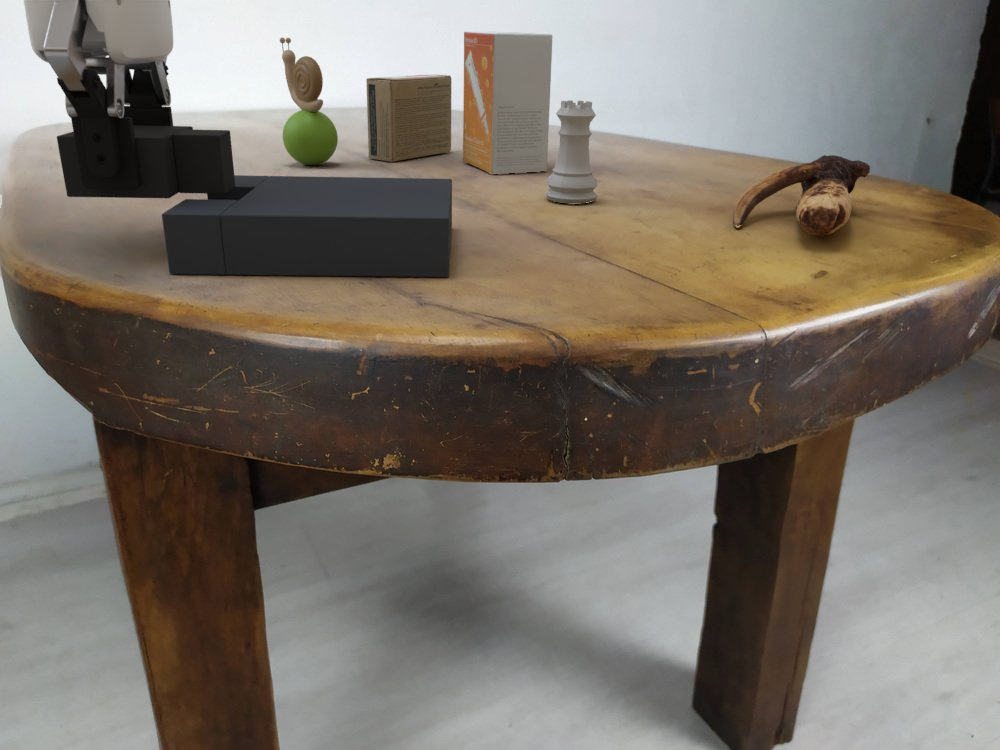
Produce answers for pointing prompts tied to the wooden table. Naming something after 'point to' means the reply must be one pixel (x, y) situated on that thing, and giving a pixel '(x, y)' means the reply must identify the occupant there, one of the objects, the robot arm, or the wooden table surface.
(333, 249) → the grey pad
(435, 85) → the ink box
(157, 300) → the wooden table surface
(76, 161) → the black stepped block
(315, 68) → the snail figurine
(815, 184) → the lashed bone hook
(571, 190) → the rook chess piece
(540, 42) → the small box
